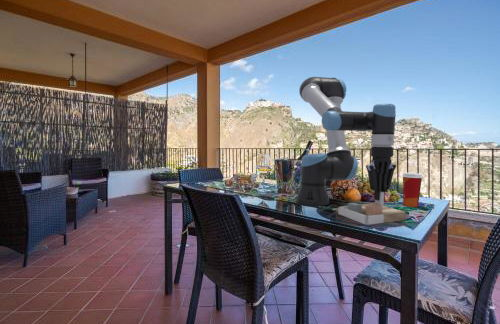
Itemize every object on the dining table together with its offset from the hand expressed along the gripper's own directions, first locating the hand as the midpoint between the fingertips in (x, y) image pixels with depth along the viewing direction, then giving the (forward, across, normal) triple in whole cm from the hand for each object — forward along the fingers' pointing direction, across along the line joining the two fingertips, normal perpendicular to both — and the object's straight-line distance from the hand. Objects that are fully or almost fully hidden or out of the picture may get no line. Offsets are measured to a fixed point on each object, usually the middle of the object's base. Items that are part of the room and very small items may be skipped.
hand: (378, 208), depth 102 cm
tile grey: (+2, -4, +7) cm, 8 cm away
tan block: (+1, -3, 0) cm, 3 cm away
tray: (+4, -6, +4) cm, 8 cm away
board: (+4, +4, +3) cm, 7 cm away
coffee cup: (+4, +32, +12) cm, 35 cm away
